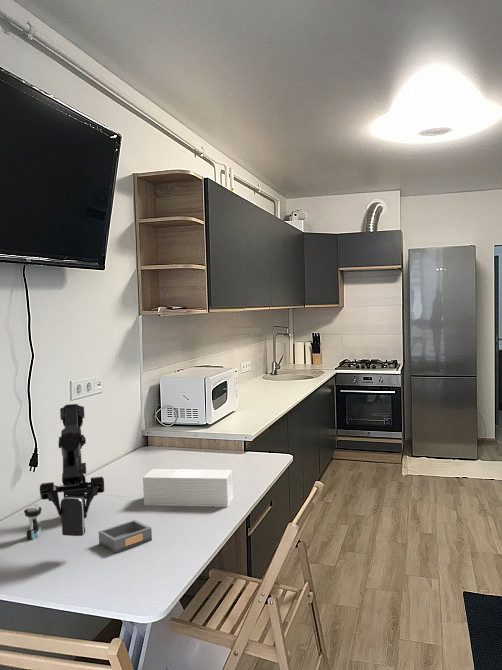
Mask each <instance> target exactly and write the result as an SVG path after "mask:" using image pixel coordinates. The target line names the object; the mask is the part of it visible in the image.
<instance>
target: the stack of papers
mask: <svg viewBox="0 0 502 670" xmlns="http://www.w3.org/2000/svg"><path fill="white" fill-rule="evenodd" d="M233 471H234V470H233V469H190V468H189V469H186V468H185V469H182V468H181V469H180V468H179V469H178V468H177V469H175V468H174V469H173V468H171V469H167V468H152V469H150V470H149V471H147V473H146V474H145V475H143V477H142V484H143V487H142V488H143V505H144V506H166V507H167V506H170V507H171V506H172V507H174V506H175V507H209V506H210V507H212V506H214V508H217V507H219V508H221V507H222V508H228V507H229V505H230V504H231V502H232V500H233V498H234V480H233V479H234V477H233ZM212 508H213V507H212Z"/></svg>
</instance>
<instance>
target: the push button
mask: <svg viewBox="0 0 502 670" xmlns="http://www.w3.org/2000/svg"><path fill="white" fill-rule="evenodd" d="M42 509H43V508H42V507H40V506H39V505H38V504H31V505H28V506H27V507H26V509H24V510H23V512H24V516H25V517H27V518H28V520H29V521H28V522H29V526H28V530H26V539H27V540H35V539H36V538H37V537H40V535H41V534H42V533H41V532H42V529H41V528H42V527H41V526H40V525H39V516H40V515H41V513H42Z"/></svg>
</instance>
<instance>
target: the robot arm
mask: <svg viewBox="0 0 502 670" xmlns="http://www.w3.org/2000/svg"><path fill="white" fill-rule="evenodd" d="M59 413H60V415H59V416H60V417H59V418H60V421H62V424H63V427H64V428H62V430H61V432H60V436H58V448H59V449H61V450H60V451H61V456H62V474H61V482H62V484H61V485H55V482H53V481H51V482H44V483H43V482H42V483H40V484H39V494H40V500H48V501H49V502H52V503H53V505H54V506H55V509H56V511H57V514H58V517H61V509H60V504H61V503H60V498H59V493H63V499H64V498H65V497H67V496H80V497H83V498H84V499H85V504H86V513H85V514H84V518H87V516H88V511H89V509H90V506H91V503H92V501H93V499H94V497H95V496H98V494H101V493H104V492H105V479H104V477H103V476H94V477H90V482H89V481H87V479H86V476H85V475H87V463H86V462H83V461H82V448H83V446H85V445H86V441H87V440H86V437H85V435H84V434H82V429H81V428H82V427H83V424H84V419H85V417H86V416H85V415H86V414H85V407H84V406H82V405H80V404H77V403H71V404H65V405H64V406H63V407H61V408H60V409H59Z"/></svg>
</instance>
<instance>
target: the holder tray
mask: <svg viewBox="0 0 502 670" xmlns="http://www.w3.org/2000/svg"><path fill="white" fill-rule="evenodd" d="M152 530H153V529H152V527H150V526H148V525H147V524H144V523H143V522H141V521H138V520H136V519H132V520H129V521H127V522H123V523H121V524H118V525H115V526H112V527H109V528H108V527H107V528H105V529H102V530H99V531H98V544H99V545H101V546H102V547H104V548H105V549H107V550H109V551H110V552H112V553H114V554H117V553H120V552H123V551H126V550H129V549H133V548H135V547H137V546H141V545H143V544H146V543H148V542H151V541H153V537H152V536H153V535H152V534H153V533H152V532H153V531H152Z"/></svg>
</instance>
